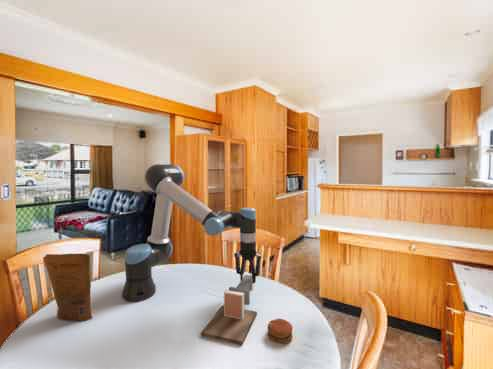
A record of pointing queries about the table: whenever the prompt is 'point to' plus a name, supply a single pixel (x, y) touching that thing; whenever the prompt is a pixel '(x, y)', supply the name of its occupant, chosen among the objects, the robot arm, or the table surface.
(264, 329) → the table surface
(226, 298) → the tile
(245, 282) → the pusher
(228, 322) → the walnut board
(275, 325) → the burger
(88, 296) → the pancake mix bag
